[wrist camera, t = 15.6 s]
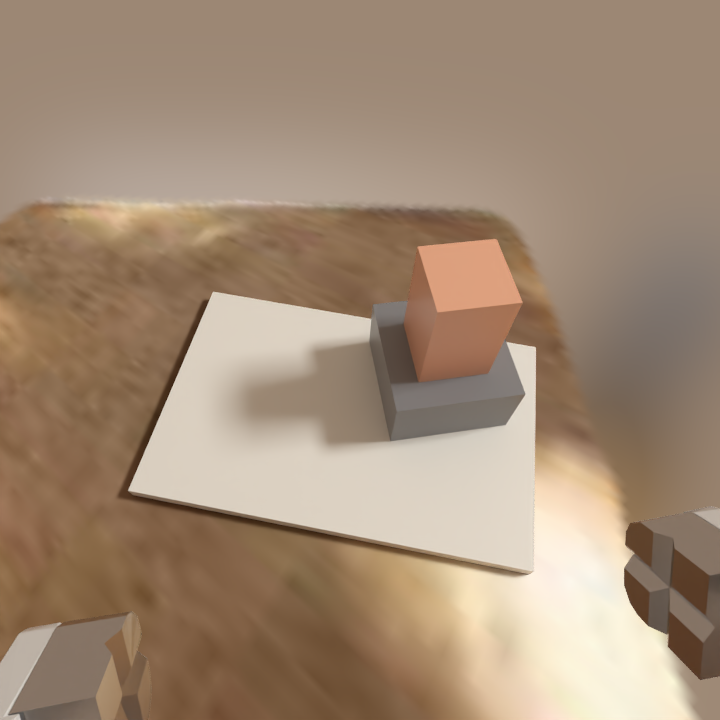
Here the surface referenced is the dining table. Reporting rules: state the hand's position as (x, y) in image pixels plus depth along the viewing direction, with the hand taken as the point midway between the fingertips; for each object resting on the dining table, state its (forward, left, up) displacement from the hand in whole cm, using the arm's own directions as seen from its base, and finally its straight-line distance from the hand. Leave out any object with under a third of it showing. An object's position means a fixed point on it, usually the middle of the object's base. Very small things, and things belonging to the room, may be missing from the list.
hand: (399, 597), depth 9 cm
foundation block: (+3, +20, -27) cm, 34 cm away
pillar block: (+3, +20, -22) cm, 30 cm away
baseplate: (-3, +16, -28) cm, 33 cm away
